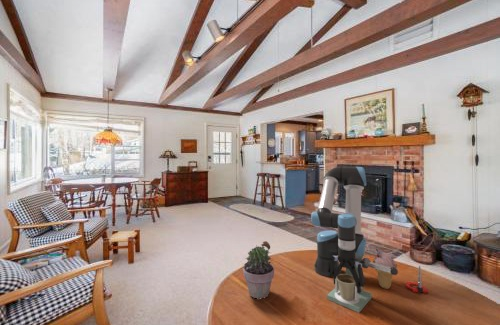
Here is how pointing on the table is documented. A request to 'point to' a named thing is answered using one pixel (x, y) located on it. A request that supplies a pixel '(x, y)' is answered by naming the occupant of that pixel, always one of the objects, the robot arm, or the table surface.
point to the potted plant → (259, 271)
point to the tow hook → (417, 284)
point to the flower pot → (346, 286)
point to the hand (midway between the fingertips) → (346, 295)
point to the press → (354, 304)
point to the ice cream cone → (384, 276)
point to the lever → (378, 266)
